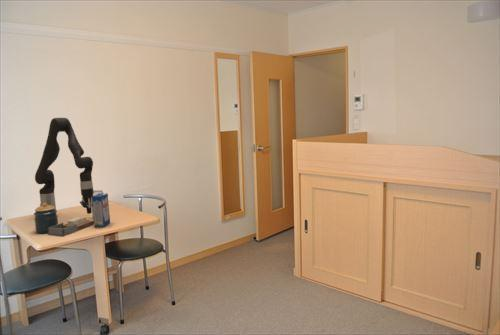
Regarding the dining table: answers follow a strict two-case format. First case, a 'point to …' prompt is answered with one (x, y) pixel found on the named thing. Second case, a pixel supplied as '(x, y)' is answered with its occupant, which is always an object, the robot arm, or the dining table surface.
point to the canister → (45, 218)
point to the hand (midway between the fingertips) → (89, 213)
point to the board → (82, 225)
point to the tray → (61, 230)
